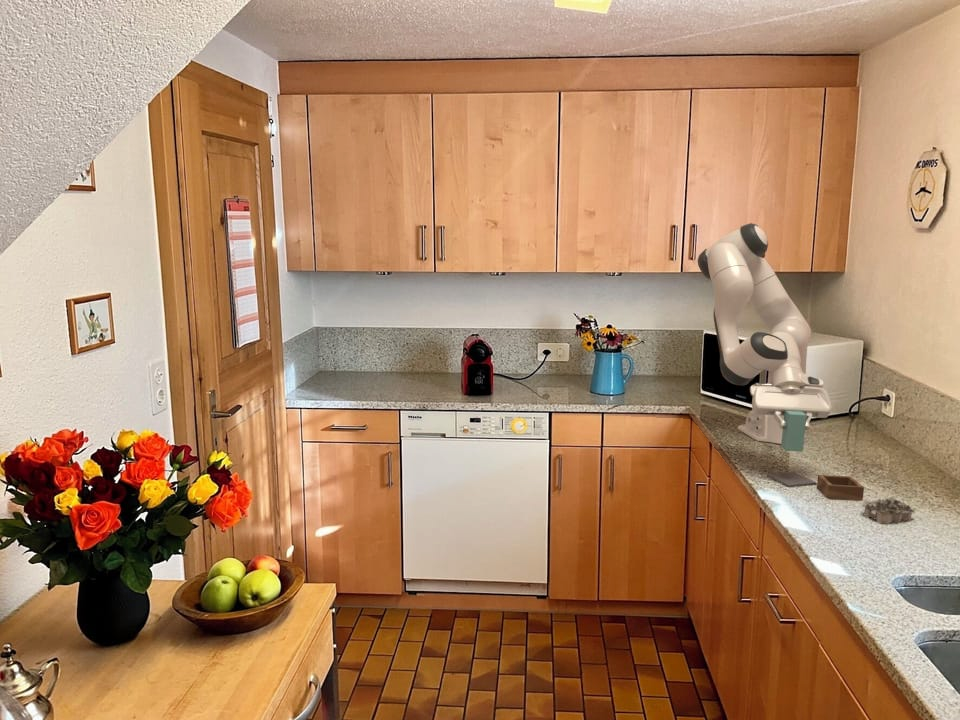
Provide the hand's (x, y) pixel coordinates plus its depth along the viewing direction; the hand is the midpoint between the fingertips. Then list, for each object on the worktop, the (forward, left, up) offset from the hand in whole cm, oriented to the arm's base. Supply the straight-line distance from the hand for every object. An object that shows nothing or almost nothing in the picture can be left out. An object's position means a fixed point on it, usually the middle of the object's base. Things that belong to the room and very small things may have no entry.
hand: (794, 428), depth 204 cm
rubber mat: (0, +1, -15) cm, 15 cm away
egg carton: (+28, +5, -15) cm, 32 cm away
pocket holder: (+12, +6, -15) cm, 20 cm away
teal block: (-1, 0, -6) cm, 6 cm away
